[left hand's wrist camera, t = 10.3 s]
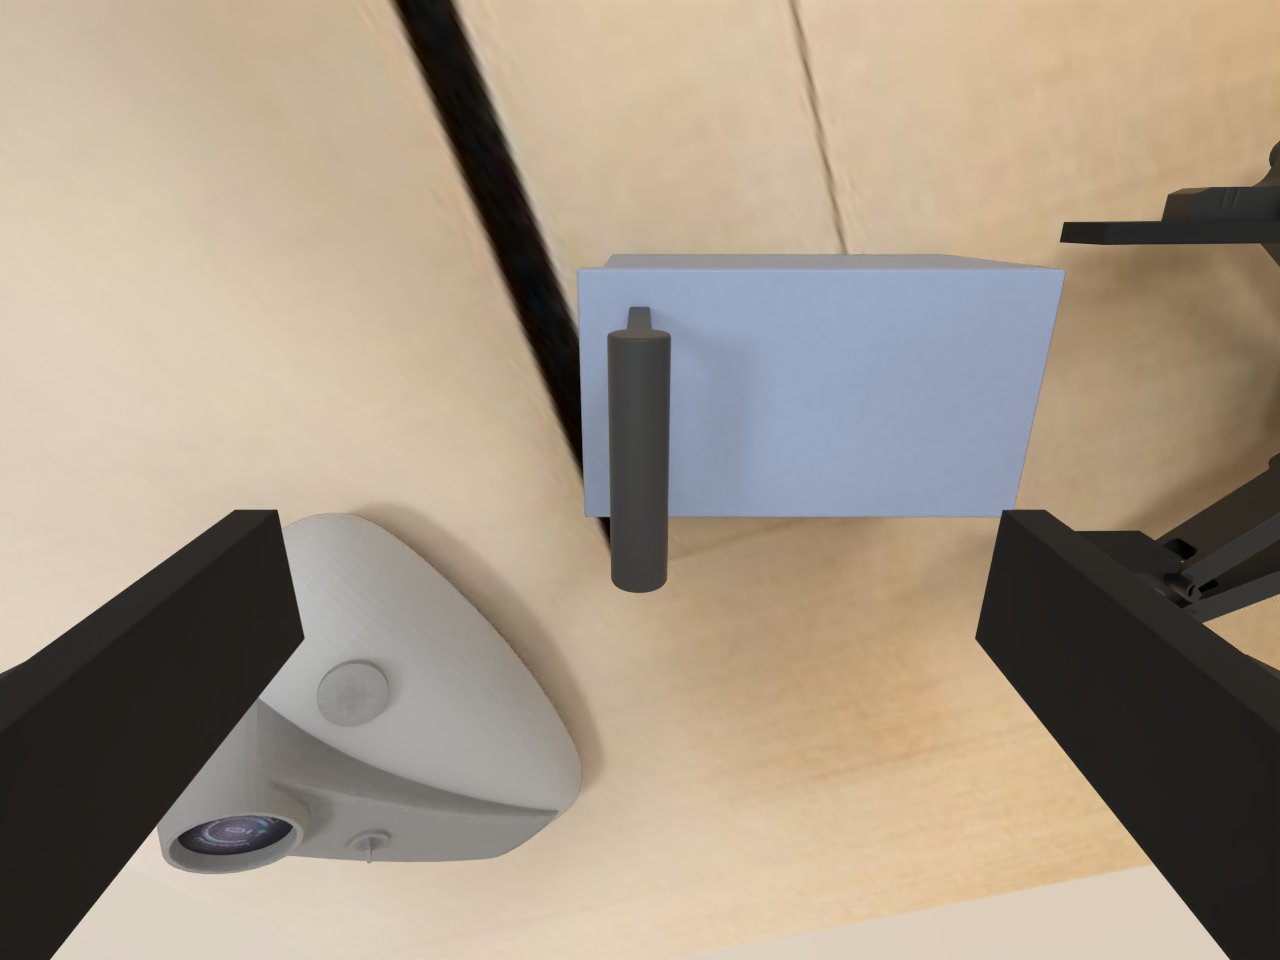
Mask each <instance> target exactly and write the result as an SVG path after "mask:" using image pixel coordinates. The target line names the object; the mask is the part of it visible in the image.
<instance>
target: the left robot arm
mask: <svg viewBox="0 0 1280 960" xmlns="http://www.w3.org/2000/svg"><path fill="white" fill-rule="evenodd" d="M304 639H305V637H304V632H303V628H302V623H301V618H300V613H299V609H298V604H297V599H296V595H295V590H294V585H293V581H292V576H291V571H290V567H289V562H288V557H287V552H286V548H285V543H284V538H283V534H282V529H281V524H280V520H279V515H278V510H234V511H233V512H231V513H230V514H229V515H227V516H226V517H224V518H223V519H222V520H220V521H219V522H218V523H216V524H215V525H213V526H212V527H211V528H209V529H208V530H206V531H205V532H204V533H202V534H201V535H200V536H198V537H197V538H195V539H194V540H193V541H191V542H190V543H189V544H187V545H186V546H184V547H183V548H182V549H180V550H179V551H177V552H176V553H175V554H173V555H172V556H171V557H169V558H168V559H166V560H165V561H164V562H162V563H161V564H159V565H158V566H157V567H155V568H154V569H153V570H151V571H150V572H148V573H147V574H146V575H144V576H143V577H142V578H140V579H139V580H137V581H136V582H135V583H133V584H132V585H130V586H129V587H128V588H126V589H125V590H124V591H122V592H121V593H119V594H118V595H117V596H115V597H114V598H113V599H111V600H110V601H108V602H107V603H106V604H104V605H103V606H101V607H100V608H99V609H97V610H96V611H95V612H93V613H92V614H90V615H89V616H88V617H86V618H85V619H84V620H82V621H81V622H79V623H78V624H77V625H75V626H74V627H72V628H71V629H70V630H68V631H67V632H66V633H64V634H63V635H61V636H60V637H59V638H57V639H56V640H55V641H53V642H52V643H50V644H49V645H48V646H46V647H45V648H43V649H42V650H41V651H39V652H38V653H37V654H35V655H34V656H32V657H31V658H30V659H28V660H27V661H25V662H23V663H21V664H19V665H17V666H15V667H13V668H11V669H9V670H7V671H5V672H3V673H1V674H0V960H50V959H51V958H52V956H53V955H54V954H55V953H56V951H57V950H58V949H59V948H60V946H61V945H62V944H63V943H64V941H65V940H66V939H67V938H68V936H69V935H70V934H71V933H72V931H73V930H74V929H75V927H76V926H77V925H78V924H79V922H80V921H81V920H82V919H83V917H84V916H85V915H86V914H87V912H88V911H89V910H90V909H91V907H92V906H93V905H94V904H95V902H96V901H97V900H98V899H99V897H100V896H101V895H102V894H103V892H104V891H105V890H106V889H107V887H108V886H109V885H110V883H111V882H112V881H113V880H114V878H115V877H116V876H117V875H118V873H119V872H120V871H121V870H122V868H123V867H124V866H125V865H126V863H127V862H128V861H129V860H130V858H131V857H132V856H133V855H134V853H135V852H136V851H137V849H138V848H139V847H140V846H141V844H142V843H143V842H144V841H145V839H146V838H147V837H148V836H149V834H150V833H151V832H152V831H153V829H154V828H155V827H156V826H157V824H158V823H159V822H160V821H161V819H162V818H163V817H164V815H165V814H166V813H167V812H168V810H169V809H170V808H171V807H172V805H173V804H174V803H175V802H176V800H177V799H178V798H179V797H180V795H181V794H182V793H183V792H184V790H185V789H186V788H187V787H188V785H189V784H190V783H191V781H192V780H193V779H194V778H195V776H196V775H197V774H198V773H199V771H200V770H201V769H202V768H203V766H204V765H205V764H206V763H207V761H208V760H209V759H210V758H211V756H212V755H213V754H214V753H215V751H216V750H217V749H218V747H219V746H220V745H221V744H222V742H223V741H224V740H225V739H226V737H227V736H228V735H229V734H230V732H231V731H232V730H233V729H234V727H235V726H236V725H237V724H238V722H239V721H240V720H241V719H242V717H243V716H244V715H245V713H246V712H247V711H248V710H249V708H250V707H251V706H252V705H253V703H254V702H255V701H256V700H257V698H258V697H259V696H260V695H261V693H262V692H263V691H264V690H265V688H266V687H267V686H268V685H269V683H270V682H271V681H272V679H273V678H274V677H275V676H276V674H277V673H278V672H279V671H280V669H281V668H282V667H283V666H284V664H285V663H286V662H287V661H288V659H289V658H290V657H291V656H292V654H293V653H294V652H295V651H296V649H297V648H298V647H299V645H300V644H301V643H302V642H303V640H304ZM975 639H976V640H977V642H978V643H979V644H980V645H981V647H982V648H983V649H984V651H985V652H986V653H987V654H988V656H989V657H990V658H991V659H992V661H993V662H994V663H995V664H996V666H997V667H998V668H999V669H1000V671H1001V672H1002V673H1003V674H1004V676H1005V677H1006V678H1007V679H1008V681H1009V682H1010V683H1011V685H1012V686H1013V687H1014V688H1015V690H1016V691H1017V692H1018V693H1019V695H1020V696H1021V697H1022V698H1023V700H1024V701H1025V702H1026V703H1027V705H1028V706H1029V707H1030V708H1031V710H1032V711H1033V712H1034V713H1035V715H1036V716H1037V717H1038V719H1039V720H1040V721H1041V722H1042V724H1043V725H1044V726H1045V727H1046V729H1047V730H1048V731H1049V732H1050V734H1051V735H1052V736H1053V737H1054V739H1055V740H1056V741H1057V742H1058V744H1059V745H1060V746H1061V747H1062V749H1063V750H1064V751H1065V753H1066V754H1067V755H1068V756H1069V758H1070V759H1071V760H1072V761H1073V763H1074V764H1075V765H1076V766H1077V768H1078V769H1079V770H1080V771H1081V773H1082V774H1083V775H1084V776H1085V778H1086V779H1087V780H1088V781H1089V783H1090V784H1091V785H1092V787H1093V788H1094V789H1095V790H1096V792H1097V793H1098V794H1099V795H1100V797H1101V798H1102V799H1103V800H1104V802H1105V803H1106V804H1107V805H1108V807H1109V808H1110V809H1111V810H1112V812H1113V813H1114V814H1115V815H1116V817H1117V818H1118V819H1119V821H1120V822H1121V823H1122V824H1123V826H1124V827H1125V828H1126V829H1127V831H1128V832H1129V833H1130V834H1131V836H1132V837H1133V838H1134V839H1135V841H1136V842H1137V843H1138V844H1139V846H1140V847H1141V848H1142V849H1143V851H1144V852H1145V853H1146V855H1147V856H1148V857H1149V858H1150V860H1151V861H1152V862H1153V863H1154V865H1155V866H1156V867H1157V868H1158V870H1159V871H1160V872H1161V873H1162V875H1163V876H1164V877H1165V878H1166V880H1167V881H1168V882H1169V883H1170V885H1171V886H1172V887H1173V889H1174V890H1175V891H1176V892H1177V894H1178V895H1179V896H1180V897H1181V899H1182V900H1183V901H1184V902H1185V904H1186V905H1187V906H1188V907H1189V909H1190V910H1191V911H1192V912H1193V914H1194V915H1195V916H1196V917H1197V919H1198V920H1199V921H1200V923H1201V924H1202V925H1203V926H1204V927H1205V929H1206V930H1207V931H1208V933H1209V934H1210V935H1211V936H1212V938H1213V939H1214V940H1215V941H1216V943H1217V944H1218V945H1219V946H1220V948H1221V949H1222V950H1223V951H1224V953H1225V954H1226V955H1227V956H1228V958H1229V959H1230V960H1280V671H1279V670H1277V669H1275V668H1273V667H1271V666H1269V665H1267V664H1265V663H1263V662H1261V661H1259V660H1257V659H1255V658H1253V657H1251V656H1249V655H1245V654H1243V653H1242V652H1241V651H1239V650H1238V649H1237V648H1235V647H1234V646H1232V645H1231V644H1230V643H1228V642H1227V641H1225V640H1224V639H1223V638H1221V637H1220V636H1219V635H1217V634H1216V633H1214V632H1213V631H1212V630H1210V629H1209V628H1208V627H1206V626H1205V625H1203V624H1202V623H1201V622H1199V621H1198V620H1196V619H1195V618H1194V617H1192V616H1191V615H1190V614H1188V613H1187V612H1185V611H1184V610H1183V609H1181V608H1180V607H1179V606H1177V605H1176V604H1174V603H1173V602H1172V601H1170V600H1169V599H1167V598H1166V597H1165V596H1163V595H1162V594H1161V593H1159V592H1158V591H1156V590H1155V589H1154V588H1152V587H1151V586H1150V585H1148V584H1147V583H1145V582H1144V581H1143V580H1141V579H1140V578H1138V577H1137V576H1136V575H1134V574H1133V573H1132V572H1130V571H1129V570H1127V569H1126V568H1125V567H1123V566H1122V565H1121V564H1119V563H1118V562H1116V561H1115V560H1114V559H1112V558H1111V557H1109V556H1108V555H1107V554H1105V553H1104V552H1103V551H1101V550H1100V549H1098V548H1097V547H1096V546H1094V545H1093V544H1091V543H1090V542H1089V541H1087V540H1086V539H1085V538H1083V537H1082V536H1080V535H1079V534H1078V533H1076V532H1075V531H1074V530H1072V529H1071V528H1069V527H1068V526H1067V525H1065V524H1064V523H1062V522H1061V521H1060V520H1058V519H1057V518H1056V517H1054V516H1053V515H1051V514H1050V513H1049V512H1047V511H1046V510H1002V515H1001V520H1000V524H999V529H998V534H997V538H996V543H995V548H994V552H993V557H992V562H991V567H990V571H989V576H988V581H987V585H986V590H985V595H984V599H983V604H982V609H981V613H980V618H979V623H978V628H977V632H976V637H975Z"/></svg>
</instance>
